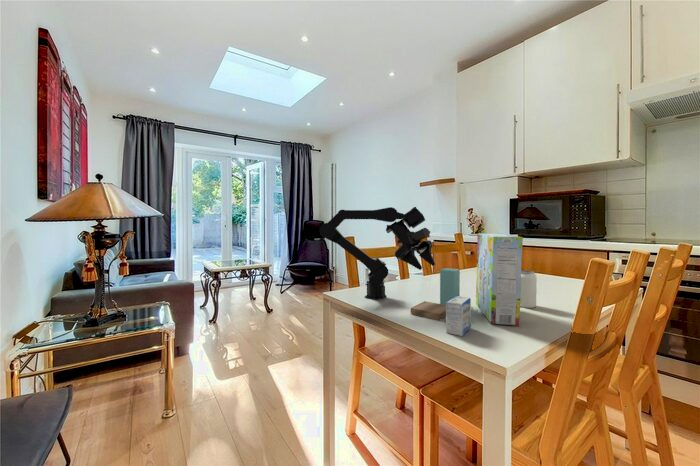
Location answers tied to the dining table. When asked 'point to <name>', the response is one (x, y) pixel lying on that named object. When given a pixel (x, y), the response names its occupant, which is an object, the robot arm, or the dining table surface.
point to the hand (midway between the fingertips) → (427, 267)
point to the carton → (449, 284)
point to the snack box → (499, 277)
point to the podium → (429, 310)
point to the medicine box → (458, 315)
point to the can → (528, 289)
